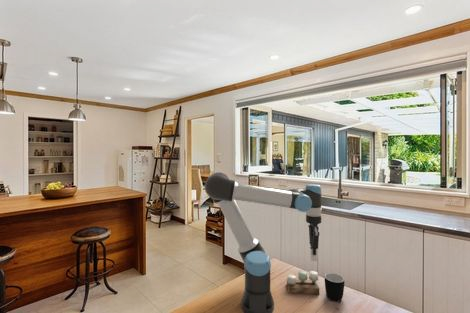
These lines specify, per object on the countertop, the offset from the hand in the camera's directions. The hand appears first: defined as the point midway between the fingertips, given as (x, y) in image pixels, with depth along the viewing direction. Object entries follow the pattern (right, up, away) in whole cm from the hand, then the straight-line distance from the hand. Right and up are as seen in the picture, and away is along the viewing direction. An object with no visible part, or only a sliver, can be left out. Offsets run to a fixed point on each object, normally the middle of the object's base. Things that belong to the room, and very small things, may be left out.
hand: (313, 260), depth 128 cm
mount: (-6, -15, +1) cm, 16 cm away
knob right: (0, -12, 0) cm, 12 cm away
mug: (+8, -16, -5) cm, 18 cm away
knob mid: (-6, -12, +1) cm, 13 cm away
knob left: (-11, -14, +1) cm, 18 cm away
